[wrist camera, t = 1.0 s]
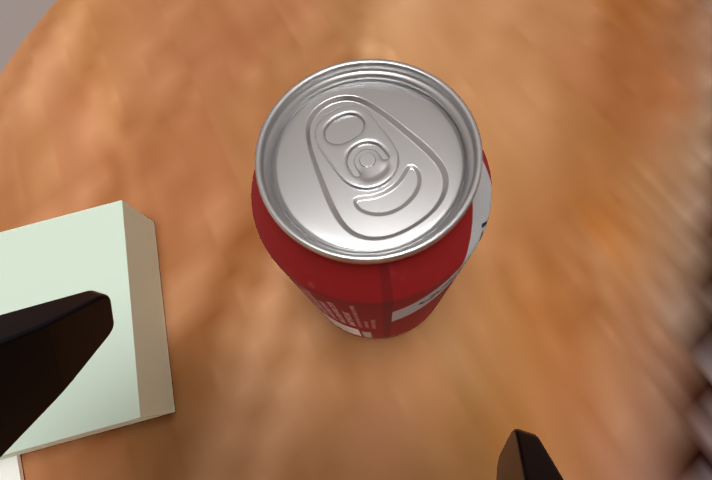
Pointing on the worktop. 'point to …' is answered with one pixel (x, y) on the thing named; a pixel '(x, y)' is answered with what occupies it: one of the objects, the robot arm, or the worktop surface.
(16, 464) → the page
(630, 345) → the worktop surface
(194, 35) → the worktop surface
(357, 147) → the soda can
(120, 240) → the base brick
